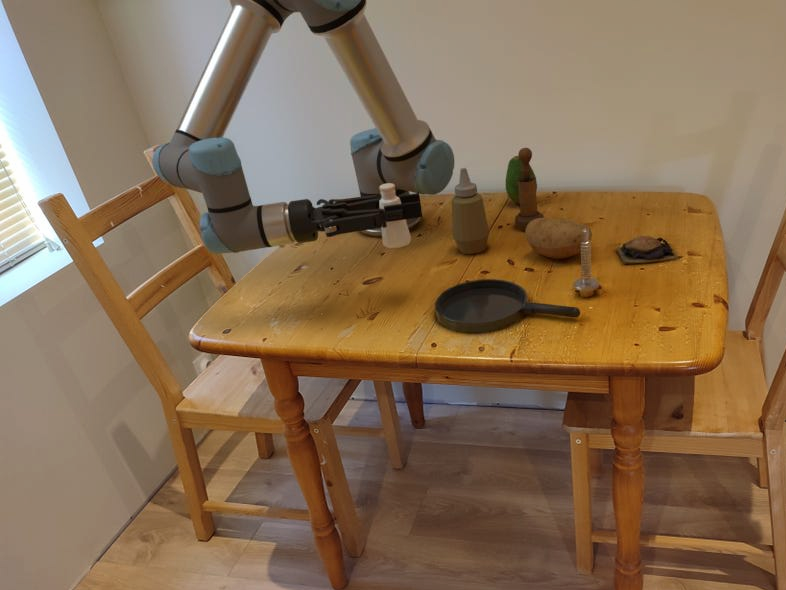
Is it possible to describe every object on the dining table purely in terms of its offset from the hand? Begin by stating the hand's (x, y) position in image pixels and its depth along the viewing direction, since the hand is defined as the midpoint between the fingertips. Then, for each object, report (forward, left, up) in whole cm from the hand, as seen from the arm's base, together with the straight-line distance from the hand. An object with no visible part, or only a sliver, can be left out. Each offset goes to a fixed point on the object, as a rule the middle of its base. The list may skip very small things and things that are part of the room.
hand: (420, 204), depth 119 cm
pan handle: (+25, -4, -17) cm, 31 cm away
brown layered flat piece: (+36, +25, -18) cm, 47 cm away
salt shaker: (-5, -3, -7) cm, 9 cm away
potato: (+19, +21, -18) cm, 34 cm away
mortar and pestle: (+7, +36, -18) cm, 41 cm away
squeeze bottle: (-1, +21, -18) cm, 28 cm away
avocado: (0, +50, -18) cm, 53 cm away
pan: (+12, -4, -18) cm, 22 cm away
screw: (+29, +6, -18) cm, 35 cm away
